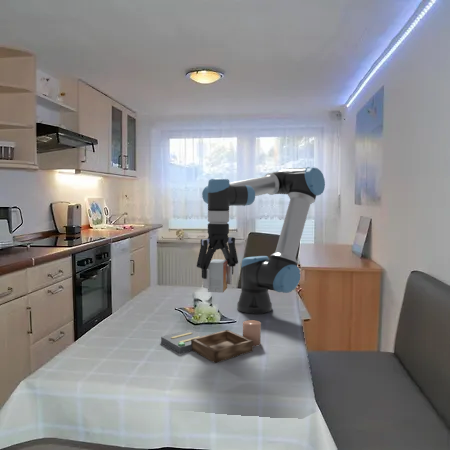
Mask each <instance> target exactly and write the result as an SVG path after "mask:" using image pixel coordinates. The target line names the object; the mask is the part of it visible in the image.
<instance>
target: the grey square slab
mask: <svg viewBox="0 0 450 450" xmlns="http://www.w3.org/2000/svg"><path fill="white" fill-rule="evenodd" d="M202 336H204V335H203V334H201V333H199V332H197V331H195V330H193V329H188V330H186V329H185V330H183V331H179V332H175V333H171V334H167V335H162V336H161V337H160V340H161V341H160V342H161V344H163V345H165V346H166V347H168V348H170V349H172V350H173V351H175V352H177V353H178V354H183V353H186V352H191V351H192V344H191V339H194V338H198V337H202Z"/></svg>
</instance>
